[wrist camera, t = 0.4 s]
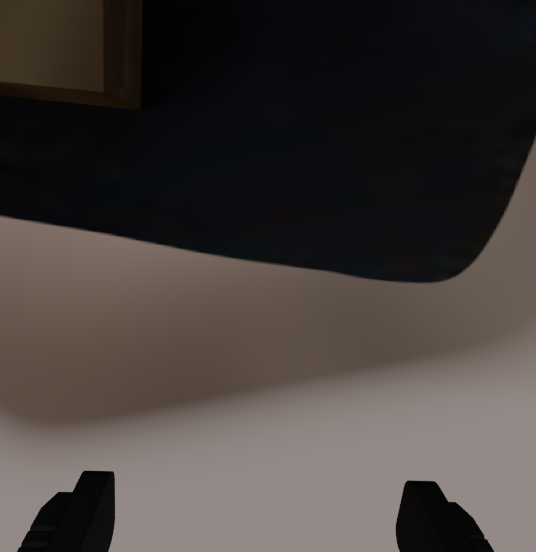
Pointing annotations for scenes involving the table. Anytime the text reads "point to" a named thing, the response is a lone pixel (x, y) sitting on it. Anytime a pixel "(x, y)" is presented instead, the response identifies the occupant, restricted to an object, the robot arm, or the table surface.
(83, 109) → the table surface
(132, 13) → the cabinet
